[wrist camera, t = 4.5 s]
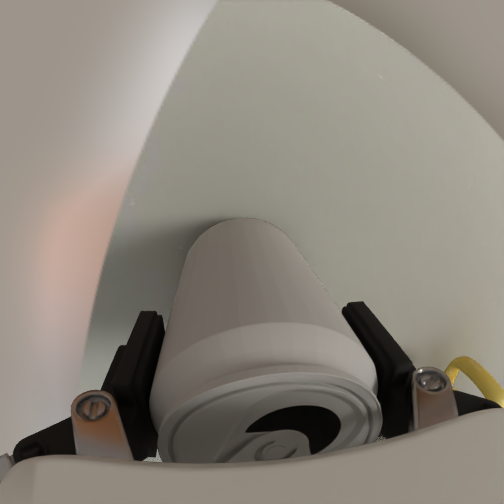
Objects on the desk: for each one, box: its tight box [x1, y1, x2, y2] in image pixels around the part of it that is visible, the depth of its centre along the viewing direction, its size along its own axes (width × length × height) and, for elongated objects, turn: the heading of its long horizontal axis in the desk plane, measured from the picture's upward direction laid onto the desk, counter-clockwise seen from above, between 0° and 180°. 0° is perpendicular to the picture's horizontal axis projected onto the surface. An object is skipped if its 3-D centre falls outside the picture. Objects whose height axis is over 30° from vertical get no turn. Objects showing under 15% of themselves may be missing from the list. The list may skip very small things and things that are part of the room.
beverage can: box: [149, 218, 383, 464], centre depth 12 cm, size 6×6×12 cm
